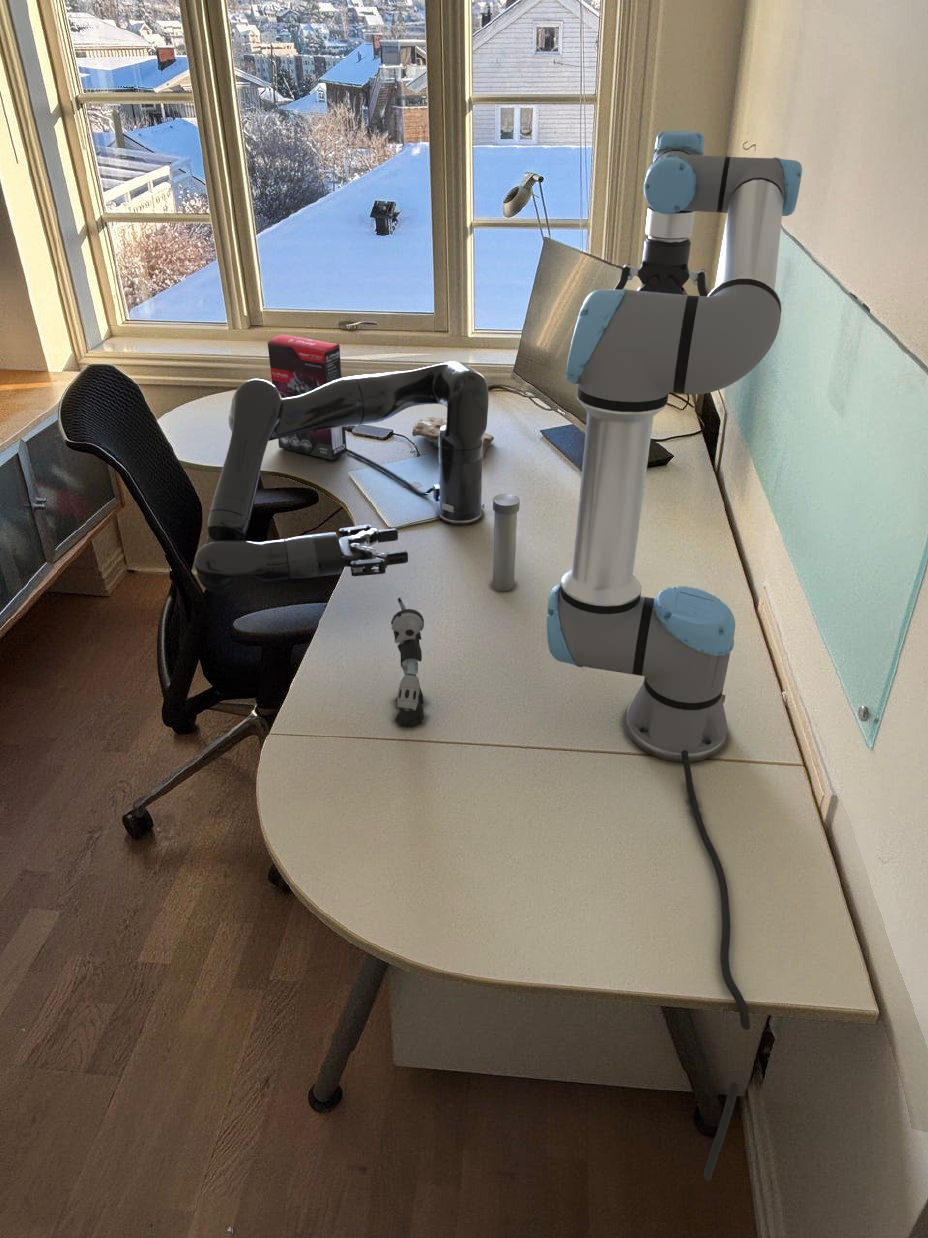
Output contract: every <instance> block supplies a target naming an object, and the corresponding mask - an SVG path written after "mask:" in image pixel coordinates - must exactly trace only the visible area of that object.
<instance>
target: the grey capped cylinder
mask: <svg viewBox="0 0 928 1238" xmlns="http://www.w3.org/2000/svg"><path fill="white" fill-rule="evenodd" d="M493 515H494V516H493V517H494V519H493V520H494V521H493V550H492V551H493V552H492V554H493V555H492V586H491V587H492V588H493V589H494V590H496V591H499V592H509V591H512V590H513V589H514V587H515V572H516V570H515V568H516V549H517V548H516V547H517V546H516V545H517V529H518V528H517V526H518V512H517V513H515V514H511V515H502V514H498V513H496V512H495V511H494V514H493Z"/></svg>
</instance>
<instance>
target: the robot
mask: <svg viewBox="0 0 928 1238" xmlns="http://www.w3.org/2000/svg"><path fill="white" fill-rule="evenodd" d="M397 603H398V604H399V607H400V610H399V611H397V612H396V613H395V614H394V615H392V618H391V621H390V624H391V630H392V632H393V635H394V643H395V644H398V645H397V646H396V647H397V649H398V651H399V654H400V668H401V669H402V671H403V674H404V675H403V676H402V678H401V680H400V683H399V686H398V689H397V691H398V692H397V696H396V699H395V703H396V705H397V709H398V712H397V714H396V717H395V722H396V723H397V724H398V725H399V726H400V727H405V728H411V727H414V726H417V725H420V724H422V722H423V720H424V718H425V715H424V707H423V704H424V703H425V702H424V694H423V692H422V689H421V684H420V683H421V682H420V679H419V676H418V675H417V674H418V673H419V662H420V663H421V662H422V660H423V653H422V652H423V651H422V647H421V643H420V641H421V640H422V634H421V632H422V631H423V629H424V628H425V627H424V626H425V619H424V617H423V615H422V614H421V612H420V611H418V610H416V609H413V608H406V605H405V604H404V602H403V600H402V599H401V597H398V598H397Z"/></svg>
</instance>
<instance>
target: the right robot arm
mask: <svg viewBox="0 0 928 1238" xmlns="http://www.w3.org/2000/svg"><path fill="white" fill-rule="evenodd" d="M704 147H705V136H704V135H703V133H701V132H699V131H694V130H684V129H683V130H681V129H680V130H679V129H677V130H676V129H672V130H671V129H670V130H662V131H660V132H659V133H658V134H657V135H656V139H655V144H654V149H653V151H652V153H653V161H652V164H650V166H649V167H648V169H647V171H646V173H645V176H644V183H643V195H644V198H645V201H646V202H647V204H648V208H647V212H646V213H647V214H646V222H645V223H646V224H645V234H646V235H647V236H646V238H645V239H644V243H643V250H642V260H641V265H640V267H636V266H632V265H631V264H630V263H625V264H624V265H623V267H622V269H621V273H620V279H619V281H618V283H617V284H616V285H615V287H614V288H613V289H595V290H593V291H591V292H590V293H589V294H588V295H587V296H586V298H585V299H584V301H583V303H582V305H581V308H580V311H579V313H578V316H577V320H576V323H575V327H574V330H573V335H572V339H571V342H570V346H569V352H568V357H567V362H566V373H565V378H566V381H567V382H568V383H571V384H572V385H574V386H575V385H577V394H576V399H577V401H578V402H579V403H580V404H581V406H582V407H583V408H584V409H585V411H586V412H587V413H586V424H585V435H584V445H583V456H582V467H581V478H580V486H579V487H580V489H579V499H578V509H577V520H576V529H575V530H576V532H575V540H574V551H573V552H574V553H573V563H572V568H571V569H569V570H568V571H567V572H565V573H564V574H563V575H562V577H561V580H560V583H559V584H555V585H554V586H552V588H551V590H550V593H549V597H548V601H547V616H546V639H547V645H548V650H549V652H550V655H551V656H552V658H554V659H555V660H556V661H558V662H560V663H564V664H567V665H568V664H569V665H573V666H576V667H577V668H583V667H584V668H588V669H589V668H591V669H596V670H602V671H607V672H608V671H609V672H614V673H620V674H627V675H633V676H638V677H639V676H640V677H643V682H642V684H641V685H640V688H639V689H638V691H637V692H636V694H635V695H634V697H633V699H632V701H631V702H630V704H629V706H628V708H627V711H626V719H625V728H626V732H627V734H628V736H629V738H630V739H631V741H632V742H634V744H636V745H637V746H638V747H639V748H640V749H641V750H643V751H645V752H646V753H648V754H650V755H651V756H654V757H656V758H659V759H662V760H666V761H670V762H675V763H682V765H683V770H684V771H683V772H684V778H685V783H686V785H685V786H686V790H687V794H688V799H689V803H690V808H691V811H692V814H693V818H694V821H695V824H696V827H697V830H698V833H699V836H700V838H701V840H702V843H703V845H704V847H705V849H706V852H707V853H708V855H709V857H710V860H711V862H712V864H713V867H714V870H715V875H716V877H717V881H718V886H719V887H718V888H719V894H720V907H721V908H720V909H721V939H720V940H721V941H720V955H719V956H720V958H719V959H720V967H721V973H722V977H723V980H724V983H725V985H726V987H727V989H728V991H729V992H730V994H731V996H732V998H733V999H734V1001H735V1004H736V1006H737V1009H738V1013H739V1019H740V1026H741V1028H742V1029H743V1030H745V1031H748V1030H750V1028H751V1021H750V1014H749V1009H748V1006H747V1002H746V1000H745V997H744V996H743V995H742V992H741V991H740V989H739V987H738V986H737V984H736V982H735V981H734V978H733V976H732V972H731V968H730V967H731V966H730V942H731V913H730V899H729V891H728V885H727V884H728V883H727V880H726V876H725V872H724V869H723V865H722V862H721V860H720V857H719V855H718V853H717V851H716V849H715V847H714V845H713V843H712V841H711V838H710V836H709V835H708V831H707V829H706V827H705V826H706V825H705V823H704V821H703V817H702V814H701V812H700V807H699V803H698V800H697V795H696V791H695V787H694V782H693V775H692V769H691V763H694V762H700V761H703V760H706V759H709V758H711V757H714V755H716V754H718V752H720V751H721V750H722V748H723V747H724V744H725V743H726V740H727V739H726V738H727V734H728V721H727V716H726V712H725V708H724V707H725V706H724V704H725V701H726V695H725V694H723V692H724V686H725V682H726V678H727V677H726V676H727V671H728V666H729V661H730V657H731V652H732V651H733V650H734V646H735V638H734V637H735V631H736V620H735V616H734V614H733V612H732V610H731V608H730V607H729V606H728V605H727V604H726V603H724V602H723V601H722V600H721V599H720V598H719V597H717V596H716V595H714V594H712V593H710V592H708V591H706V590H704V589H700V588H697V587H696V588H695V587H692V586H688V585H687V586H686V585H675V586H674V587H670V586H669V587H666V588H664V589H662V590H660V591H659V592H658V593H657V595H656V596H655V597H654V598H653V597H649V596H648V597H647V596H642V590H643V589H642V584H641V581H640V580H639V579H638V578H637V577H636V576H635V575H634V569H635V561H636V553H637V546H638V539H639V530H640V523H641V517H642V516H641V515H642V507H643V501H644V500H643V499H644V493H645V492H644V491H645V485H646V476H647V471H648V470H647V469H648V462H649V454H650V446H651V438H652V433H653V432H652V431H653V424H654V417H655V416H656V415H657V414H659V413H660V412H661V411H663V410H664V409H665V408H666V407H667V406H668V401H669V394H670V393H671V394H672V393H673V394H683V395H704V394H710V393H713V392H717V391H720V390H723V389H725V388H727V387H729V386H731V385H734V384H735V383H736V382H738V381H739V380H741V379H742V378H744V377H745V376H747V374H749V373H750V372H751V371H752V370H754V369H755V368H756V367H757V366H758V364H759V363H760V362H762V360H763V359H764V358H765V357H766V355H767V354H768V353H769V351H770V349H771V348H772V346H773V344H774V343H775V340H776V339H777V336H778V332H779V330H780V326H781V325H780V324H781V319H782V301H781V298H780V296H779V294H778V293H777V291H776V281H777V273H778V272H777V271H778V262H779V261H778V260H779V251H780V241H781V231H782V219H783V217H788V216H791V215H792V214H793V213H794V212H795V210H796V207H797V203H798V198H799V194H800V188H801V181H802V174H803V165H802V164H801V163H800V161H798V160H796V159H795V160H794V159H784V158H780V157H777V156H776V157H745V156H743V157H742V156H721V155H705V153H704V149H705V148H704ZM696 212H701V213H702V212H703V213H719V214H720V213H722V214H726V219H725V225H724V232H723V236H722V237H723V238H722V243H721V250H720V255H719V261H718V267H717V272H716V278H715V285H714V288H713V289H712V290H711V291H710V292H709V288H708V286H707V281H706V280H707V279H706V278H707V271H706V270H705V268H700V269H699V270H689V259H690V252H691V245H692V241H691V239H689V238H690V237H691V236H692V235H693V230H694V224H695V223H694V222H695V215H696ZM635 276H637V277H638V279H639V280H640V282H641V285H640V286H639V287H638V288H637V289H635V290H634V289H628V288H625V287H626V286H627V282H628V281H631V280H633V279H634V277H635ZM689 280H691V281H692V284H693V285H695V286H697V290H698V291H697V292H698V295H693V294H692V295H691V294H688V292H687V290H686V289H685V288H684V285H685V284H686V283H687V282H688V281H689ZM728 1087H729V1088H728V1092H727V1095H726V1099H725V1104H724V1108H723V1111H722V1115H721V1118H720V1121H719V1123H718V1127H717V1131H716V1133H715V1136H714V1139H713V1143H712V1145H711V1149H710V1151H709V1154H708V1158H707V1161H706V1164H705V1168H704V1171H703V1179H704V1180H705V1181H709V1182H710V1181H711V1180H712V1177H713V1173H714V1171H715V1170H714V1169H715V1167H716V1163H717V1161H718V1157H719V1154H720V1151H721V1149H722V1145H723V1143H724V1139H725V1137H726V1133H727V1131H728V1128H729V1124H730V1121H731V1119H732V1115H733V1112H734V1109H735V1104H736V1101H737V1096H738V1092H739V1087H740V1084H739V1083H737V1082H731V1081H730V1082H729V1086H728Z"/></svg>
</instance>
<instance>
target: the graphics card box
mask: <svg viewBox="0 0 928 1238" xmlns="http://www.w3.org/2000/svg"><path fill="white" fill-rule="evenodd" d="M340 347H341V346H340V343H335V342H333V343H332V342H328V341H322V340H317V339H311V338H306V337H300V336H295V335H289V334H285V333H282V334H279V335H277V336H274V337H273V338H271V339H270V340H268V341H267V351H268V359H269V367H270V369H269V370H270V377H271V378H270V379H271V384H273V385H274V386H275V387H276V388H277V390H278V391H279V392H280V395H281V397H282V398H291V397H296V396H300V395H303V394H306V393H308V392H310V391H313V390H315V389H317V388H319V387H321V386H323V385H326V384H328V383H330V382H332V381H335V380H338V379H341V378H343V377H342V364H341V363H342V362H341V349H340ZM277 441H278V442H277V443H278V448H279V449H283V450H287V451H288V450H289V451H292V452H297V453H301V454H305V455H309V456H314V457H317V458H322V459H326V460H330V461H333V460H335V459H337V458H339V457H340V456H342V455H344V454H345V453H348V452H347V449H348V448H347V447H348V446H347V434H346V426H344V427H337V428H331V429H323V430H315V431H308V432H303V433H298V434H294V435H290V436H286V437H282V438H279V439H277Z"/></svg>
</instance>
